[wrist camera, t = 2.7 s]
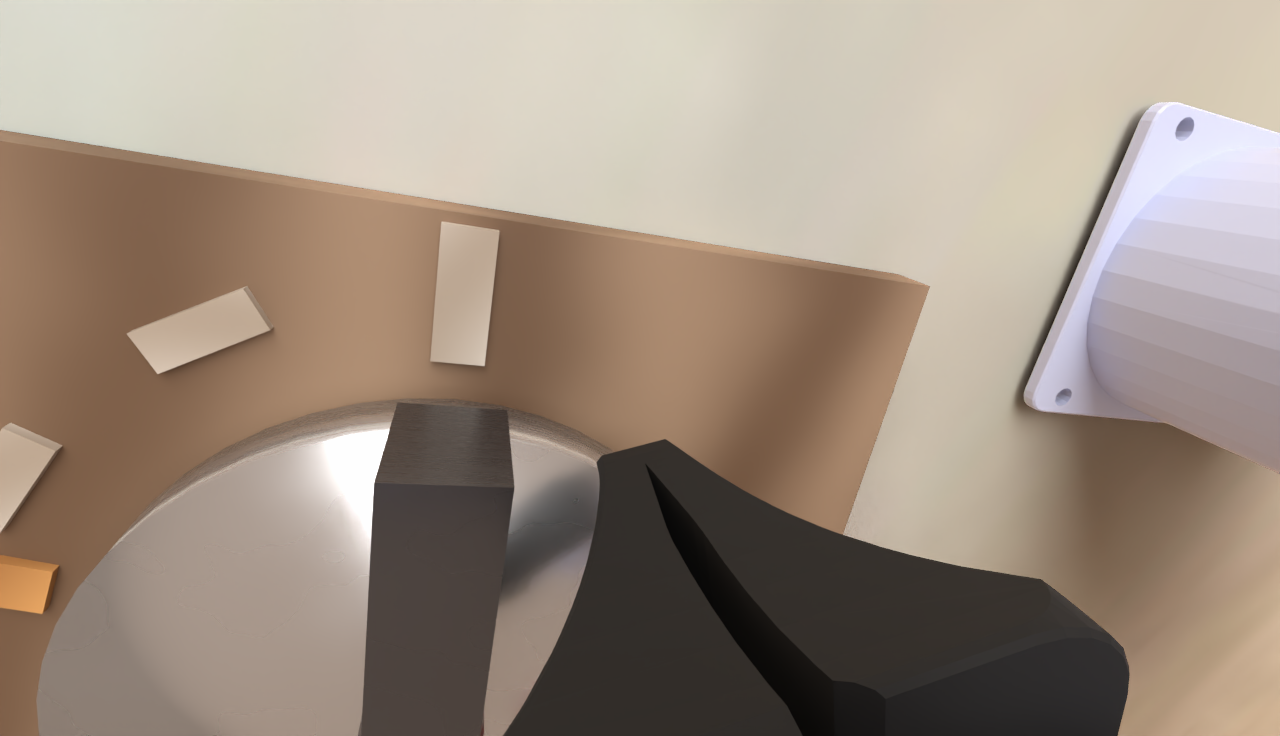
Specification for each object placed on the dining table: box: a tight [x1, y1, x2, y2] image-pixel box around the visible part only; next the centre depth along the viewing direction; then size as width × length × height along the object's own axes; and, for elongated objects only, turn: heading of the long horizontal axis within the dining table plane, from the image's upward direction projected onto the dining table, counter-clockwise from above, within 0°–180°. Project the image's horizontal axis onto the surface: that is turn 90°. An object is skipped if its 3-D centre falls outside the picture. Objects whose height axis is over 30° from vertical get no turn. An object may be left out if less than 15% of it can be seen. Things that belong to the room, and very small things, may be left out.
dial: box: [36, 398, 614, 736], centre depth 12 cm, size 13×14×4 cm
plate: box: [0, 130, 930, 736], centre depth 15 cm, size 20×20×1 cm
